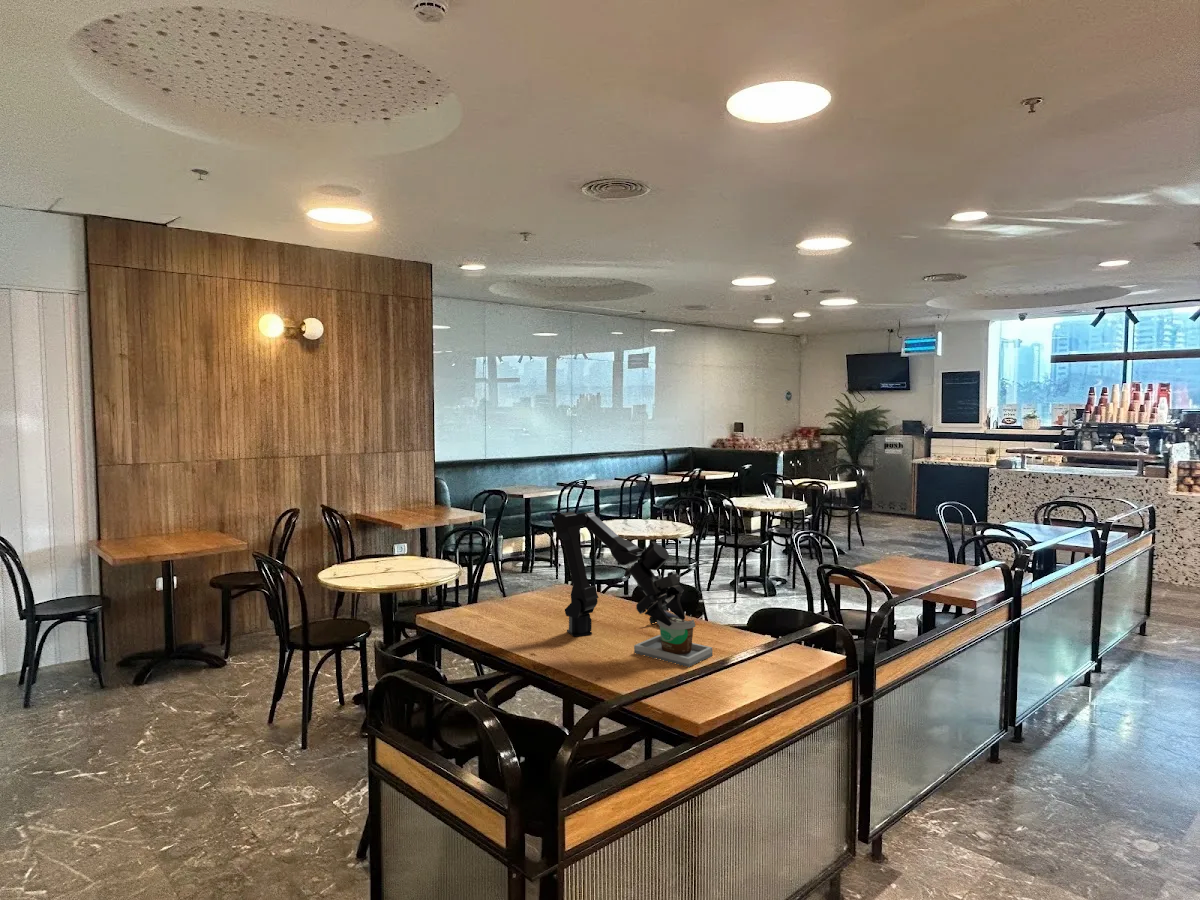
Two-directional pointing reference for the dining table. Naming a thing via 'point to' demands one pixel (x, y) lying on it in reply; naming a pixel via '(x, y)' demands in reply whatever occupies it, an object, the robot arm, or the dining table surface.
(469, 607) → the dining table surface
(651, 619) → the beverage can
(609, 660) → the dining table surface
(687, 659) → the dock
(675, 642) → the food container
